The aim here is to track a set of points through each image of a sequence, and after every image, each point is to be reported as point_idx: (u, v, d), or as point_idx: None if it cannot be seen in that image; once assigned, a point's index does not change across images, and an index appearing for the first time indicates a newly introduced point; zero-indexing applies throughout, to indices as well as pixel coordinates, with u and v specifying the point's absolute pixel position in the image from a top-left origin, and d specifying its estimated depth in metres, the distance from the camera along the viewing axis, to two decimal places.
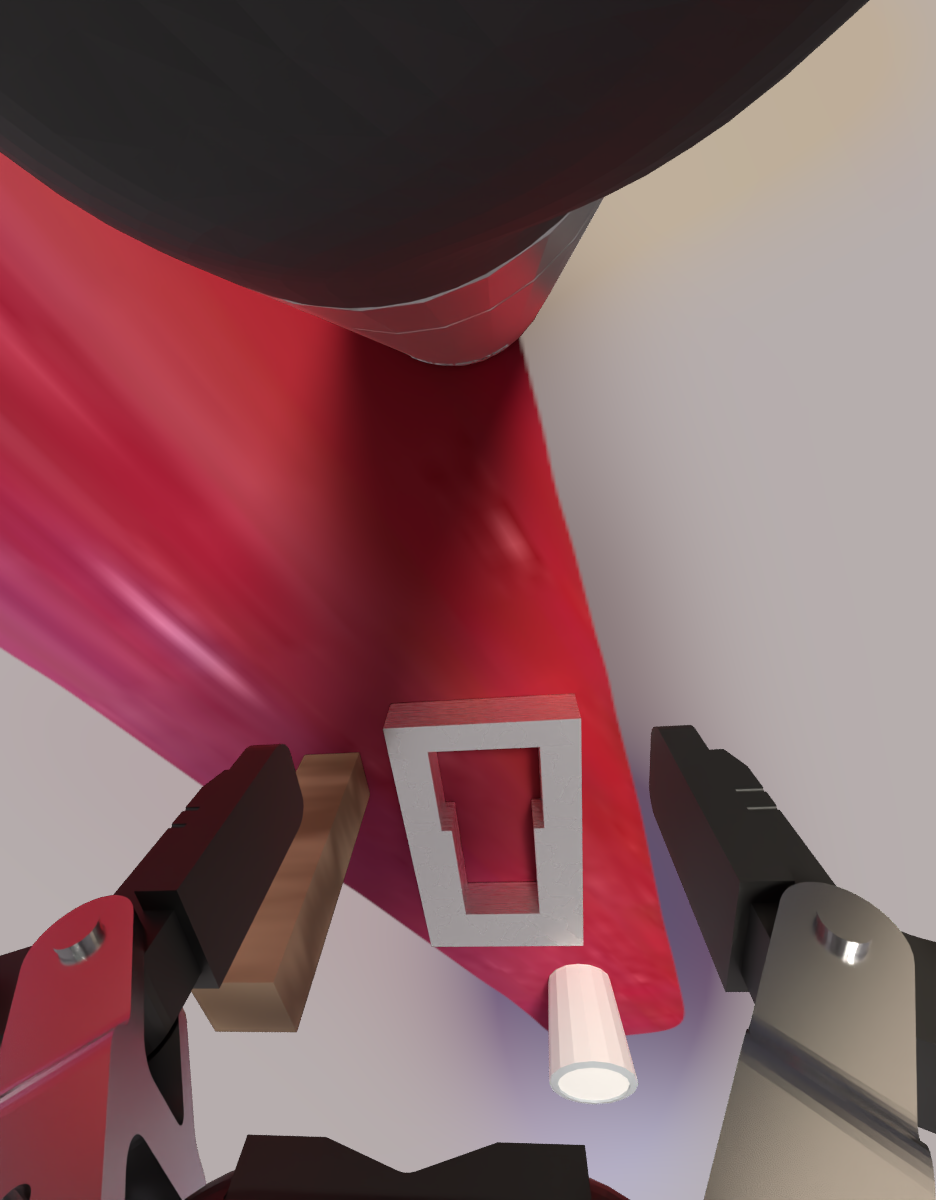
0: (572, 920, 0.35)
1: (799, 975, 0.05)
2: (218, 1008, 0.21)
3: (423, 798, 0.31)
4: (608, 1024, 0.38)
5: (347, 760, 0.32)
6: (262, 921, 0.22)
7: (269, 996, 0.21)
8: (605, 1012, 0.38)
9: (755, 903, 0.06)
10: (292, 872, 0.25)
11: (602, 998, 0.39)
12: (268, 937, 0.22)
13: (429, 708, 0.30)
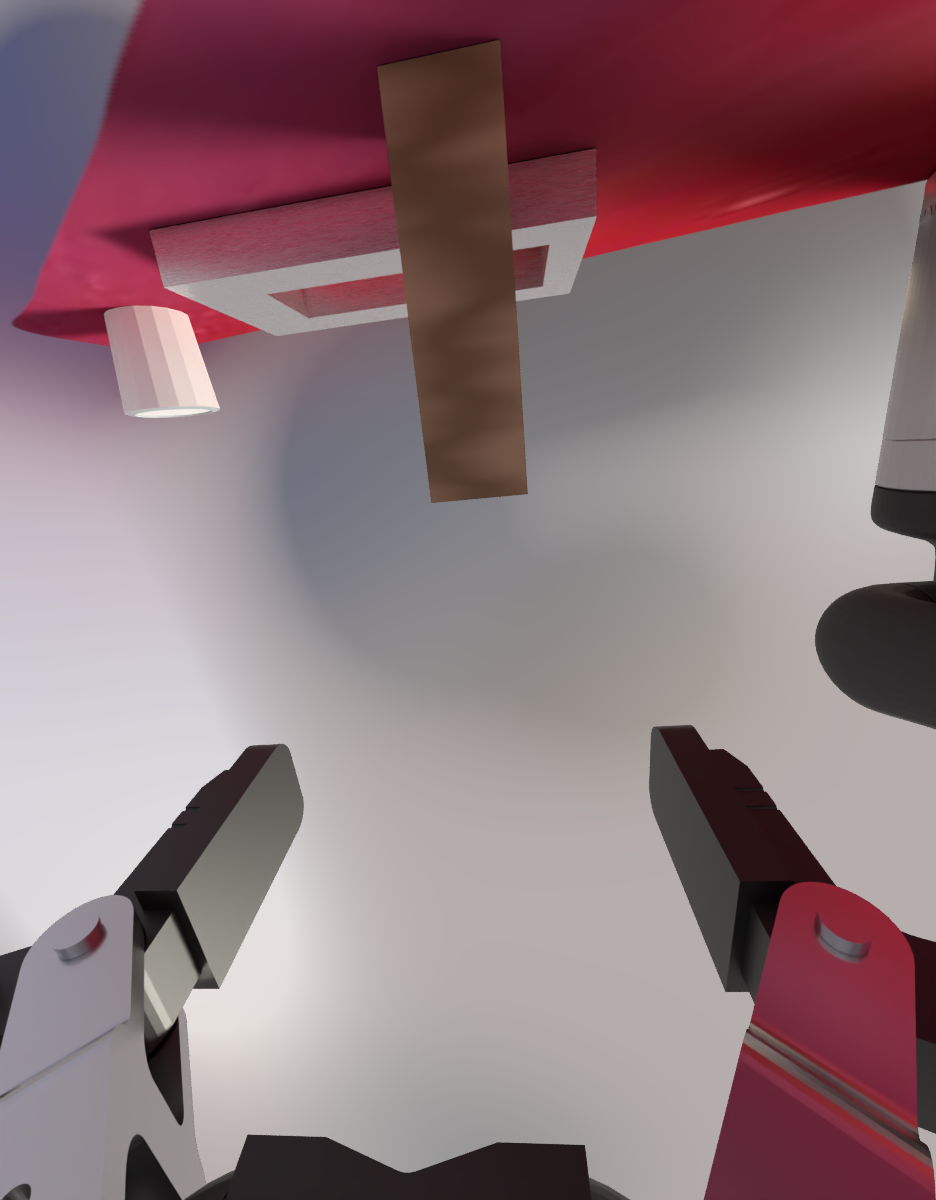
0: (310, 328, 0.34)
1: (799, 975, 0.05)
2: None
3: None
4: None
5: None
6: None
7: None
8: None
9: (755, 903, 0.06)
10: None
11: None
12: None
13: None
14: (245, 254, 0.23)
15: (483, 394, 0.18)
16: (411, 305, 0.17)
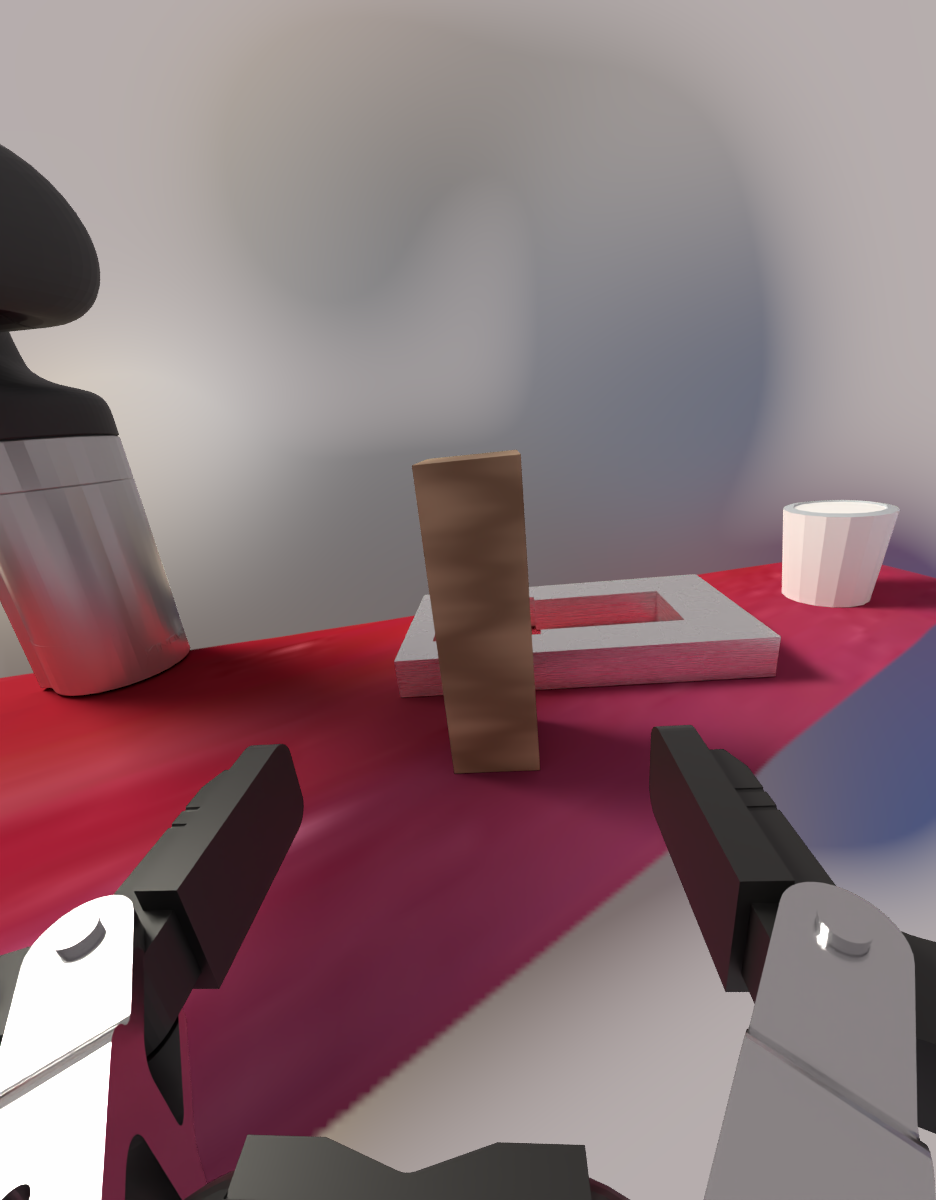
0: (658, 580, 0.37)
1: (799, 975, 0.05)
2: (467, 458, 0.18)
3: None
4: None
5: None
6: None
7: (449, 457, 0.20)
8: None
9: (755, 903, 0.06)
10: None
11: None
12: None
13: None
14: (690, 655, 0.27)
15: (462, 563, 0.18)
16: (527, 636, 0.19)
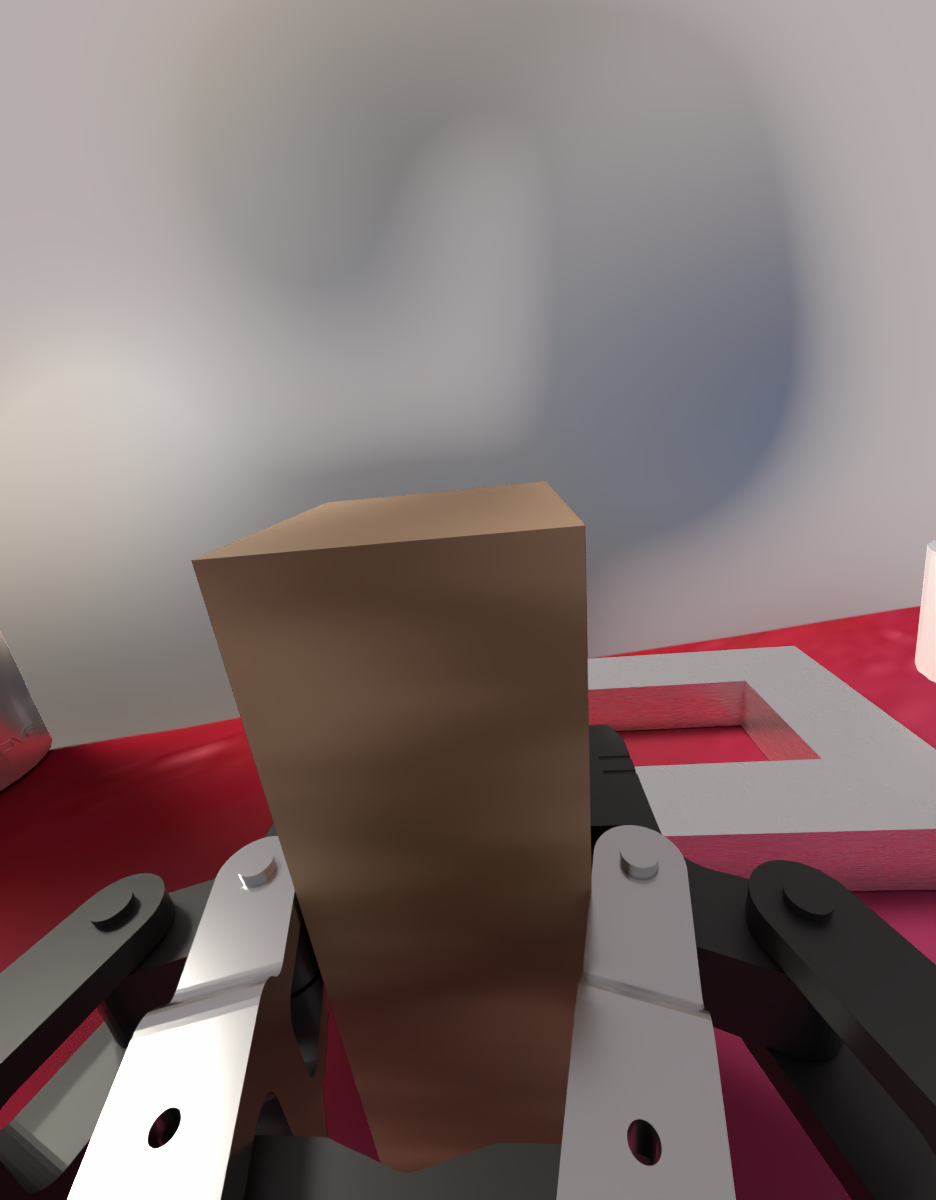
0: (740, 656, 0.24)
1: (591, 893, 0.06)
2: (397, 527, 0.05)
3: None
4: (924, 594, 0.25)
5: None
6: None
7: (376, 501, 0.08)
8: (922, 608, 0.25)
9: None
10: None
11: (920, 625, 0.26)
12: None
13: None
14: (858, 851, 0.14)
15: (391, 843, 0.06)
16: None
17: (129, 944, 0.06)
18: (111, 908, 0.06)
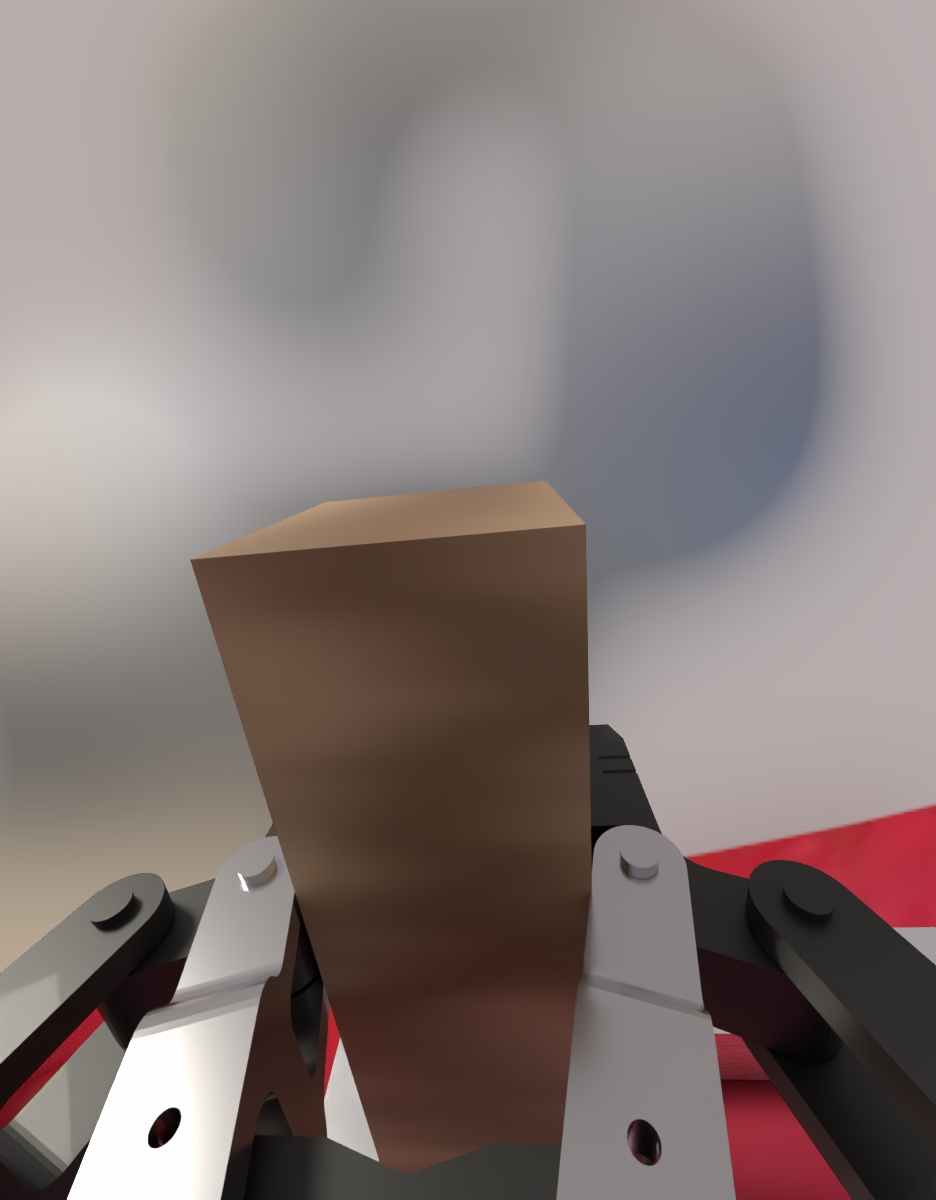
0: None
1: (590, 893, 0.06)
2: (398, 526, 0.05)
3: None
4: None
5: None
6: None
7: (376, 500, 0.08)
8: None
9: None
10: None
11: None
12: None
13: None
14: None
15: (390, 844, 0.06)
16: None
17: (129, 944, 0.06)
18: (110, 907, 0.06)
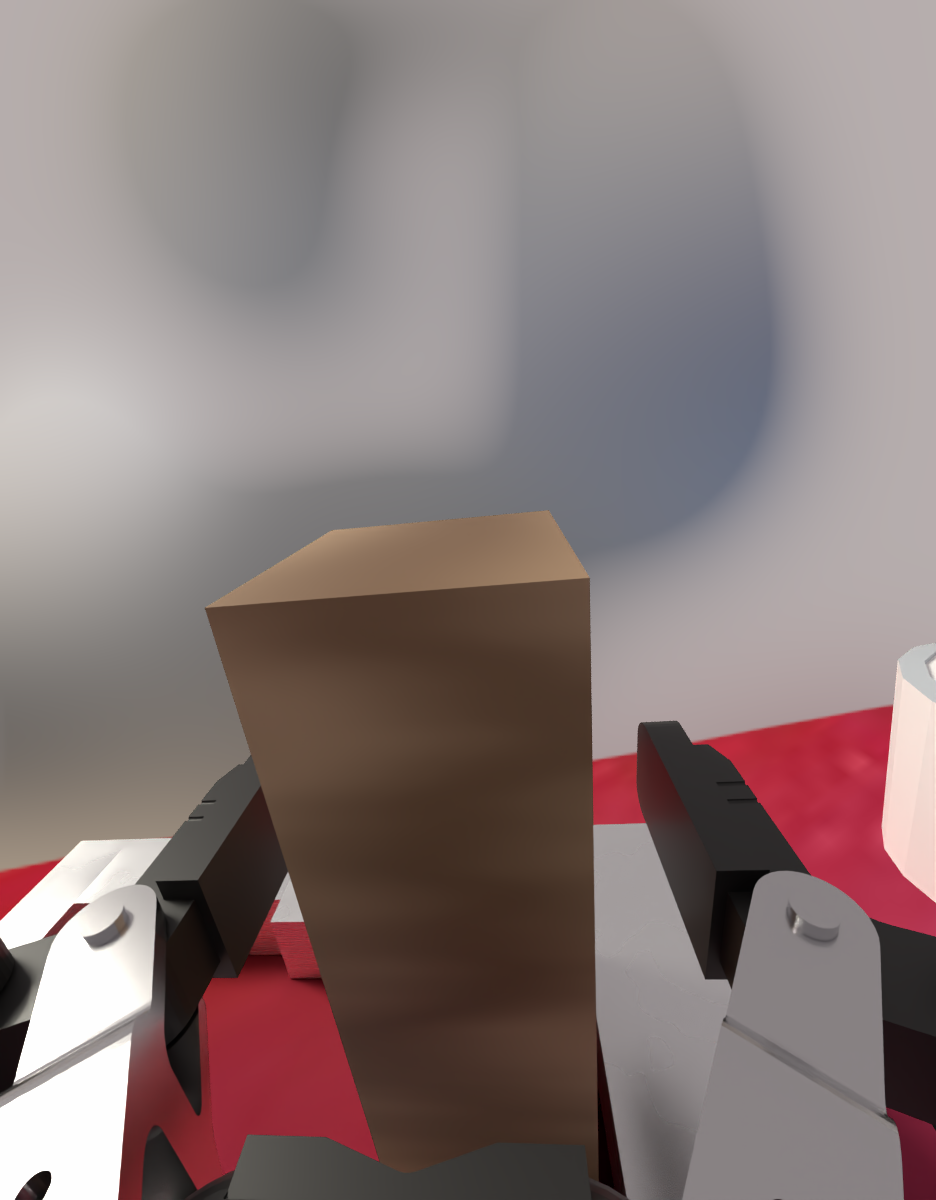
0: (596, 843, 0.15)
1: (768, 959, 0.05)
2: (405, 569, 0.06)
3: None
4: (893, 736, 0.16)
5: None
6: None
7: (382, 530, 0.08)
8: (891, 757, 0.16)
9: (731, 892, 0.06)
10: None
11: (888, 781, 0.16)
12: None
13: None
14: None
15: (397, 876, 0.06)
16: (584, 1033, 0.07)
17: None
18: None
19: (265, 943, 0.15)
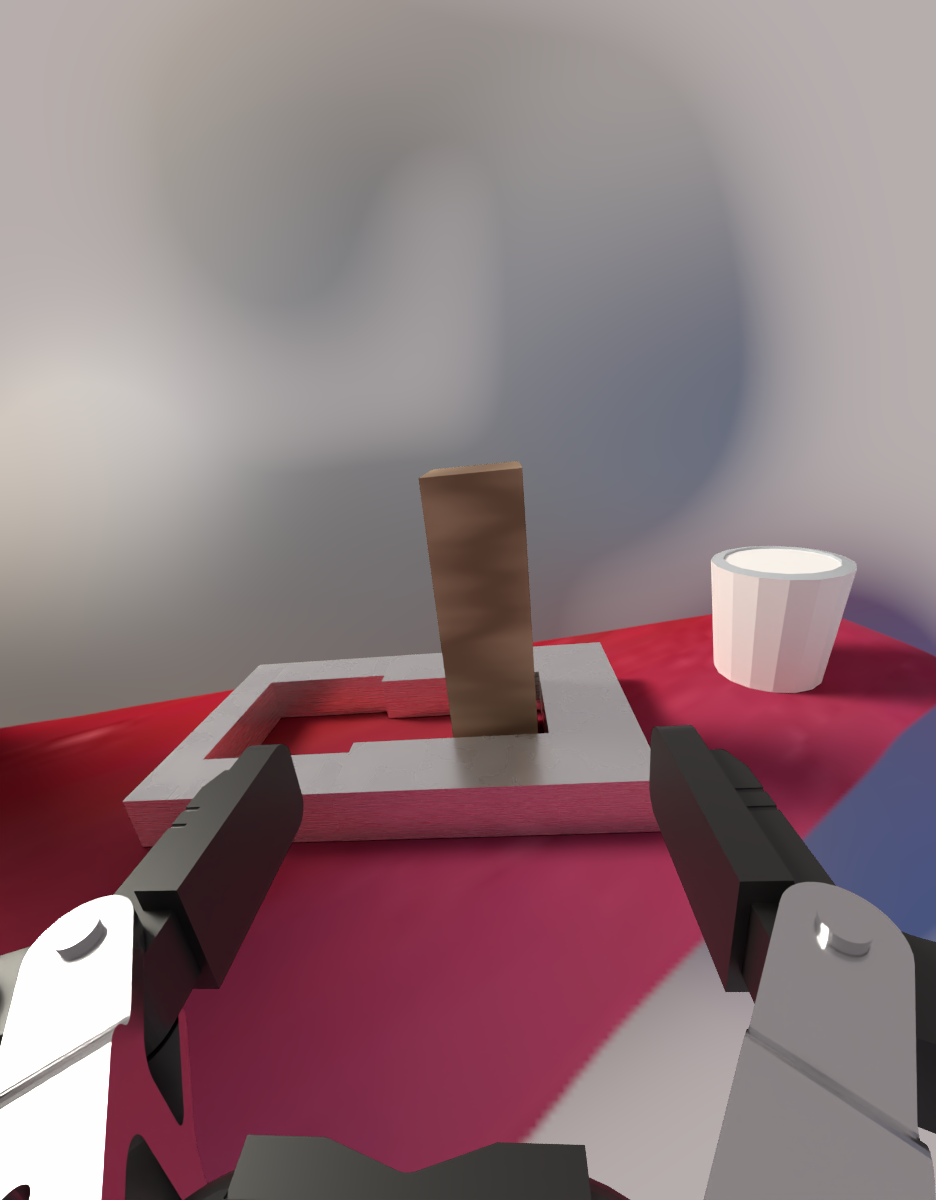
0: (550, 651, 0.28)
1: (799, 975, 0.05)
2: (471, 471, 0.19)
3: None
4: None
5: None
6: None
7: (454, 468, 0.21)
8: None
9: (755, 903, 0.06)
10: None
11: None
12: None
13: None
14: (537, 802, 0.18)
15: (466, 571, 0.19)
16: (528, 640, 0.20)
17: None
18: None
19: (373, 704, 0.28)
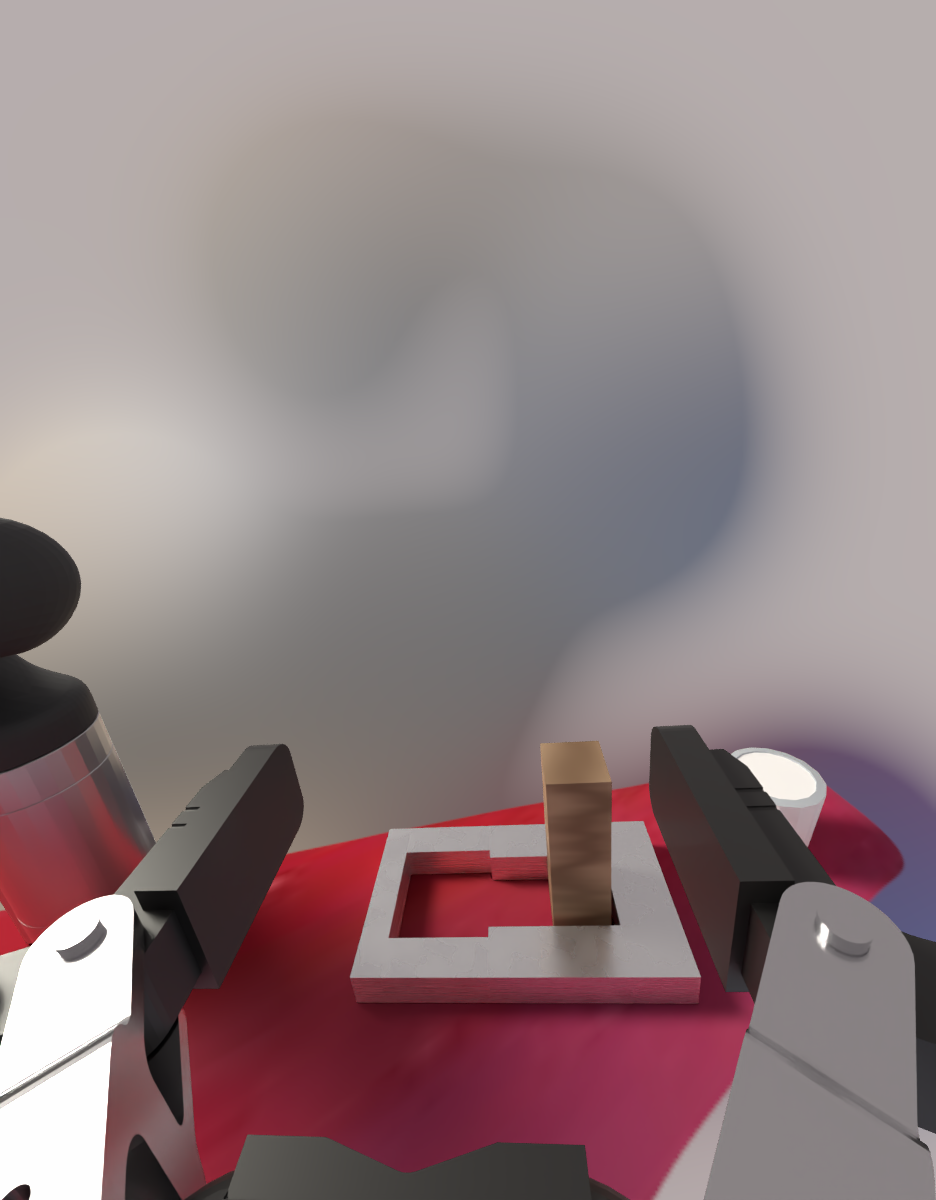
0: None
1: (799, 975, 0.05)
2: (576, 773, 0.29)
3: (442, 950, 0.31)
4: None
5: (549, 889, 0.36)
6: None
7: (556, 747, 0.32)
8: None
9: (755, 903, 0.06)
10: (545, 813, 0.33)
11: None
12: None
13: None
14: (620, 986, 0.29)
15: (571, 832, 0.30)
16: (608, 868, 0.31)
17: None
18: None
19: (480, 868, 0.39)
